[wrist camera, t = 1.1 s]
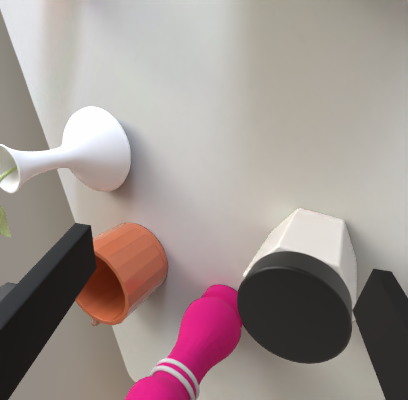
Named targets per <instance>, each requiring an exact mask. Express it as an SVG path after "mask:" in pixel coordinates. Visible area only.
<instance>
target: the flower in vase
mask: <svg viewBox="0 0 408 400" xmlns="http://www.w3.org/2000/svg"><path fill="white" fill-rule="evenodd" d="M130 165H131V150H130V145H129V141H128V138H127V136H126V134H125V132H124V130H123V128H122V126H121V125H120V124H119V122H118V121H117V120H116V119H115V118H114V117H113V116H112V115H110V114H109V113H108V112H106V111H105V110H103V109H101V108H98V107H86V108H83V109H81V110H79V111H77V112H76V113H75V114H73V115H72V117H71V118H70V119H69V121H68V123H67V125H66V128H65V130H64V134H63V141H62V146H61V147H59V148H56V149H52V150H47V151H39V152H25V151H24V152H23V151H17V150H13V149H10V148H8V147H6V146H4V145H2V144H0V187H1V188H2V189H3V190H5V191H6V192H9V193H15V192H17V191H18V190H19V189H20V187H21V186H22V184H23V183H24V182H25V181H27V180H28V179H30V178H32V177H34V176H36V175H37V174H40V173H43V172H46V171H49V170H53V169H58V168H69V169H70V170H71V172H72V173H73V174H74V175H75V176H76V177H77V178H78V179H79V180H80V181H81V182H82V183H84V184H85V185H86V186H88V187H90V188H92V189H94V190H98V191H112V190H115V189H117V188H118V187H120V186H121V185H122V184H123V182H124V181H125V179H126V177H127V175H128V173H129V170H130ZM0 234H1V235H4V236H8V237H11V234H10V232H9V229H8V225H7V220H6V215H5V212H4V209H3V208H2V207H1V206H0Z"/></svg>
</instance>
